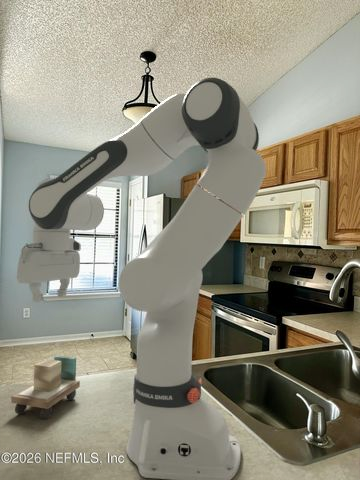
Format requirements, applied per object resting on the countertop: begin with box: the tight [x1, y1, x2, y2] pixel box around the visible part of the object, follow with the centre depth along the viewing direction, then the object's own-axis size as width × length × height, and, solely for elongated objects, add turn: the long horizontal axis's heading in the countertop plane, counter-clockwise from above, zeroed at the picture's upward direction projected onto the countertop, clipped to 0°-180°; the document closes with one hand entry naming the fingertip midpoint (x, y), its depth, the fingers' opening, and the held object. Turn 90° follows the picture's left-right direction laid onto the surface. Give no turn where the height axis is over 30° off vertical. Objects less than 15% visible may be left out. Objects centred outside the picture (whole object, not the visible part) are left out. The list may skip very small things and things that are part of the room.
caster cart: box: [10, 355, 81, 420], centre depth 84 cm, size 10×14×10 cm
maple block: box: [33, 358, 61, 392], centre depth 84 cm, size 4×4×6 cm
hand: (50, 298), depth 84 cm, fingers open, 8 cm apart
